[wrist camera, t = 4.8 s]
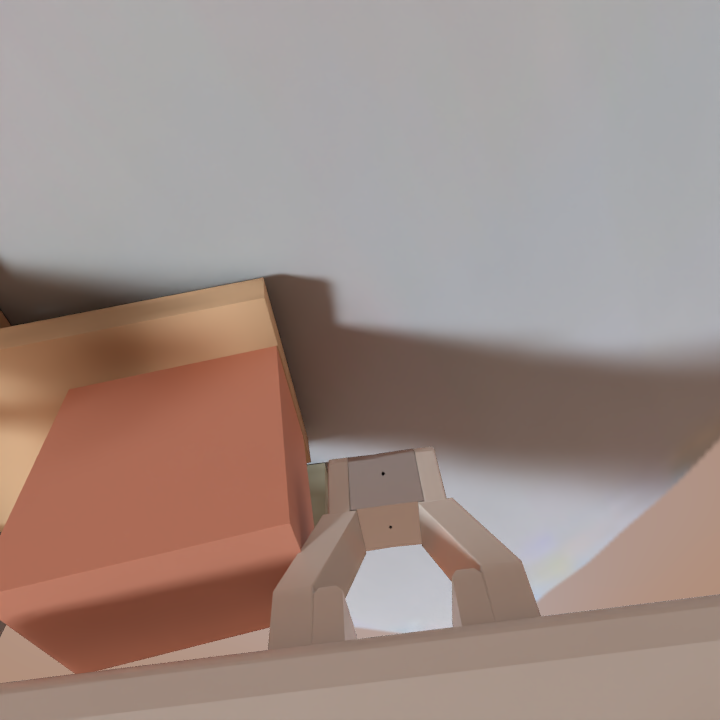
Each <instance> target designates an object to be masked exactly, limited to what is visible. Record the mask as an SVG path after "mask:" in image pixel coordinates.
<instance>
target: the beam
mask: <svg viewBox="0 0 720 720" xmlns="http://www.w3.org/2000/svg"><path fill="white" fill-rule="evenodd" d="M273 346H277V350H278V353H279V356H280V360H281V363H282V367H283V370H284V373H285V377H286V380H287V384H288V387H289V390H290V394H291V397H292V401H293V404H294V407H295V411H296V414H297V418H298V421H299V424H300V428H301V431H302V434H303V439H304V447H305V455H306V463H309V462H311V459H310V452H309V444H308V437H307V434H306V430H305V427H304V423H303V419H302V416H301V412H300V408H299V405H298V401H297V398H296V394H295V390H294V387H293V383H292V379H291V376H290V372H289V369H288V365H287V361H286V358H285V354H284V351H283V347H282V343H281V340H280V336H279V332H278V329H277V325H276V322H275V318H274V314H273V311H272V307H271V303H270V300H269V296H268V293H267V289H266V285H265V282H264V278H259V279H253V280H248V281H243V282H238V283H233V284H228V285H222V286H217V287H212V288H207V289H202V290H197V291H191V292H186V293H181V294H176V295H171V296H166V297H160V298H155V299H150V300H145V301H140V302H135V303H129V304H124V305H119V306H114V307H109V308H104V309H98V310H93V311H88V312H83V313H78V314H73V315H67V316H62V317H57V318H52V319H47V320H42V321H36V322H31V323H26V324H21V325H16V326H11V327H5V328H0V532H2V530H3V528H4V526H5V524H6V522H7V520H8V518H9V515H10V513H11V511H12V509H13V507H14V505H15V503H16V501H17V498H18V496H19V494H20V492H21V490H22V488H23V486H24V484H25V481H26V479H27V477H28V475H29V473H30V471H31V469H32V467H33V465H34V462H35V460H36V458H37V456H38V454H39V452H40V450H41V448H42V445H43V443H44V441H45V439H46V437H47V435H48V433H49V431H50V428H51V426H52V424H53V422H54V420H55V418H56V416H57V414H58V411H59V409H60V407H61V405H62V403H63V401H64V399H65V397H66V394H67V392H68V390H69V389H74V388H78V387H83V386H88V385H93V384H97V383H102V382H107V381H112V380H116V379H121V378H126V377H131V376H135V375H140V374H145V373H150V372H154V371H159V370H164V369H169V368H173V367H178V366H183V365H188V364H192V363H197V362H202V361H207V360H211V359H216V358H221V357H226V356H230V355H235V354H240V353H245V352H249V351H254V350H259V349H264V348H268V347H273Z"/></svg>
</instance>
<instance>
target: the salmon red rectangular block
mask: <svg viewBox="0 0 720 720" xmlns="http://www.w3.org/2000/svg"><path fill="white" fill-rule="evenodd" d="M313 529H314V521H313V512H312V504H311V496H310V488H309V480H308V472H307V463H306V455H305V447H304V439H303V434H302V431H301V428H300V424H299V421H298V418H297V414H296V411H295V407H294V404H293V401H292V397H291V394H290V390H289V387H288V384H287V380H286V377H285V373H284V370H283V367H282V363H281V360H280V356H279V353H278V350H277V346H273V347H268V348H264V349H259V350H254V351H249V352H245V353H240V354H235V355H230V356H226V357H221V358H216V359H211V360H207V361H202V362H197V363H192V364H188V365H183V366H178V367H173V368H169V369H164V370H159V371H154V372H150V373H145V374H140V375H135V376H131V377H126V378H121V379H116V380H112V381H107V382H102V383H97V384H93V385H88V386H83V387H78V388H74V389H69V390H68V392H67V394H66V397H65V399H64V401H63V403H62V405H61V407H60V409H59V411H58V414H57V416H56V418H55V420H54V422H53V424H52V426H51V428H50V431H49V433H48V435H47V437H46V439H45V441H44V443H43V445H42V448H41V450H40V452H39V454H38V456H37V458H36V460H35V462H34V465H33V467H32V469H31V471H30V473H29V475H28V477H27V479H26V481H25V484H24V486H23V488H22V490H21V492H20V494H19V496H18V498H17V501H16V503H15V505H14V507H13V509H12V511H11V513H10V515H9V518H8V520H7V522H6V524H5V526H4V528H3V530H2V532H1V535H0V621H2V622H3V623H5V624H6V625H8V626H9V627H10V628H12V629H13V630H15V631H16V632H18V633H19V634H20V635H22V636H23V637H24V638H26V639H27V640H29V641H30V642H31V643H33V644H34V645H36V646H37V647H38V648H40V649H41V650H43V651H44V652H45V653H47V654H48V655H50V656H51V657H52V658H54V659H55V660H57V661H58V662H60V663H61V664H62V665H64V666H65V667H66V668H68V669H69V670H71V671H72V672H73V673H75V674H79V673H87V672H94V671H98V670H102V669H106V668H110V667H114V666H118V665H122V664H126V663H130V662H134V661H138V660H142V659H146V658H149V657H154V656H158V655H162V654H165V653H170V652H173V651H178V650H181V649H186V648H190V647H193V646H197V645H201V644H205V643H209V642H213V641H217V640H221V639H225V638H229V637H233V636H237V635H241V634H245V633H249V632H253V631H257V630H261V629H265V628H269V627H270V620H271V609H272V597H273V591H274V589H275V588H276V586H277V585H278V583H279V582H280V580H281V579H282V577H283V575H284V574H285V572H286V571H287V569H288V568H289V566H290V565H291V563H292V562H293V560H294V559H295V557H296V555H297V554H298V553H300V552H301V548H302V546H303V545H304V543H305V542H306V540H307V539H308V537H309V535H310V534H311V532H312V531H313Z"/></svg>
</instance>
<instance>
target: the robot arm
mask: <svg viewBox="0 0 720 720" xmlns="http://www.w3.org/2000/svg"><path fill="white" fill-rule="evenodd" d="M416 544H422V546H423V547H424V549H425V550H426V551H427V552H428V553H429V555H430V556H431V557H432V558H433V560H434V561H435V562H436V563H437V564H438V566H439V567H440V568H441V569H442V570H443V572H444V573H445V574H446V575H447V576H448V578H449V579H450V580H451V581H452V624H453V627H451V628H443V629H435V630H426V631H418V632H410V633H402V634H394V635H386V636H378V637H370V638H362V639H357V635H356V632H355V629H354V625H353V622H352V619H351V616H350V612H349V609H348V606H347V603H346V600H345V598H346V596H347V594H348V591H349V589H350V587H351V585H352V583H353V581H354V578H355V576H356V574H357V572H358V570H359V568H360V565H361V563H362V561H363V559H364V557H365V555H366V551H370V550H376V549H383V548H389V547H397V546H407V545H416ZM0 720H720V594H719V595H711V596H703V597H694V598H687V599H679V600H671V601H663V602H655V603H647V604H638V605H630V606H622V607H614V608H606V609H598V610H589V611H581V612H573V613H566V614H558V615H549V616H541V615H540V612H539V609H538V607H537V604H536V601H535V598H534V595H533V592H532V589H531V587H530V584H529V581H528V578H527V575H526V572H525V570H524V567H523V564H522V561H521V560H520V559H519V558H518V557H517V556H516V555H514V554H513V553H512V552H511V551H510V550H509V549H508V548H507V547H506V546H505V545H503V544H502V543H501V542H500V541H499V540H498V539H497V538H496V537H495V536H494V535H493V534H491V533H490V532H489V531H488V530H487V529H486V528H485V527H484V526H483V525H482V524H480V523H479V522H478V521H477V520H476V519H475V518H474V517H473V516H472V515H471V514H469V513H468V512H467V511H466V510H465V509H464V508H463V507H462V506H461V505H460V504H458V503H457V502H456V501H455V500H454V499H453V498H446V494H445V490H444V486H443V482H442V478H441V474H440V470H439V466H438V462H437V458H436V454H435V450H434V448H433V447H432V446H430V447H423V448H416V449H414V450H413V449H406V450H399V451H393V452H386V453H379V454H375V455H366V456H357V457H348V458H340V459H332V460H329V463H328V514H325V515H322V517H321V518H320V520H319V522H318V523H317V525H316V526H315V528H314V529H313V531H312V532H311V534H310V535H309V537H308V539H307V540H306V542H305V543H304V545H303V546H302V548H301V552H300V553H298V554H297V555H296V557H295V559H294V560H293V562H292V563H291V565H290V566H289V568H288V569H287V571H286V572H285V574H284V575H283V577H282V579H281V580H280V582H279V583H278V585H277V586H276V588H275V589H274V591H273V597H272V609H271V620H270V633H269V643H268V650H265V651H257V652H248V653H241V654H232V655H224V656H216V657H208V658H201V659H193V660H184V661H177V662H168V663H160V664H152V665H143V666H135V667H127V668H120V669H111V670H103V671H95V672H87V673H79V674H71V675H64V676H55V677H47V678H39V679H30V680H22V681H14V682H6V683H0Z"/></svg>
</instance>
